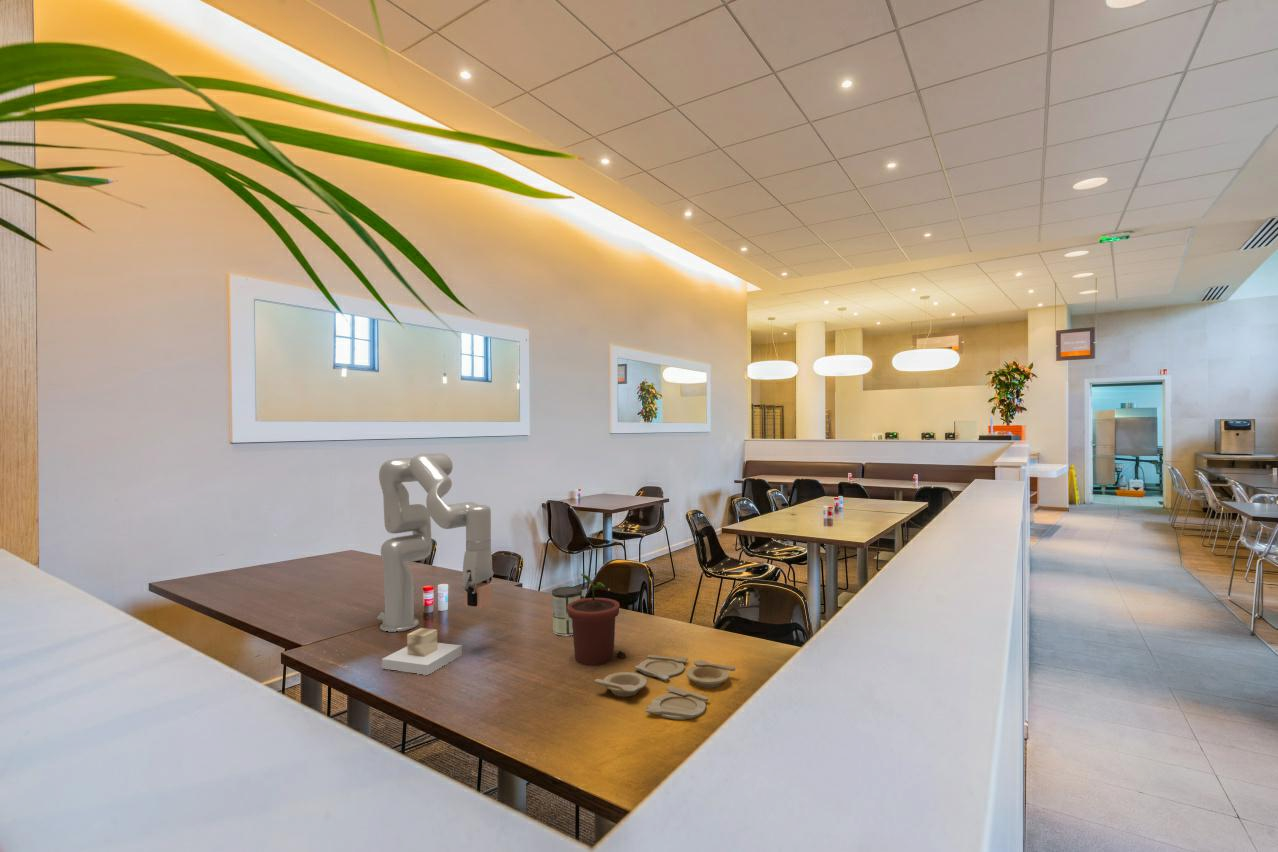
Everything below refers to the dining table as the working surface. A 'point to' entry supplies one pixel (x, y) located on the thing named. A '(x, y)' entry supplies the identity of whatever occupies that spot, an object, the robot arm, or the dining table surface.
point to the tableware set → (678, 700)
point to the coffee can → (563, 609)
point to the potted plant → (594, 628)
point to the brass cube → (422, 642)
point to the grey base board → (422, 659)
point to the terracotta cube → (482, 595)
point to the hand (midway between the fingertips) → (478, 602)
